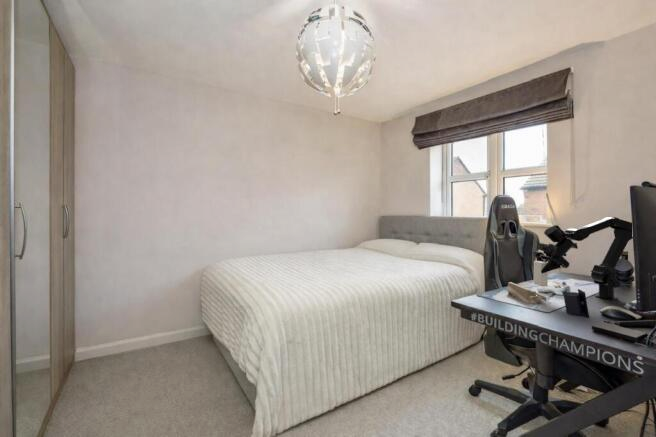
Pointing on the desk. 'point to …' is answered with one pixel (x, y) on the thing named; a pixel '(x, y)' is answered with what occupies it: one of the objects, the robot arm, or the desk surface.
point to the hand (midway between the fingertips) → (537, 271)
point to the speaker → (576, 303)
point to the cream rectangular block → (540, 274)
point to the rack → (523, 293)
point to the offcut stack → (532, 292)
